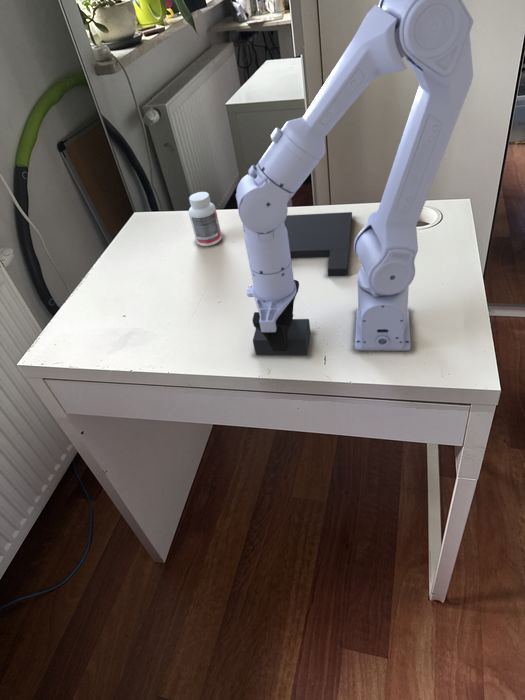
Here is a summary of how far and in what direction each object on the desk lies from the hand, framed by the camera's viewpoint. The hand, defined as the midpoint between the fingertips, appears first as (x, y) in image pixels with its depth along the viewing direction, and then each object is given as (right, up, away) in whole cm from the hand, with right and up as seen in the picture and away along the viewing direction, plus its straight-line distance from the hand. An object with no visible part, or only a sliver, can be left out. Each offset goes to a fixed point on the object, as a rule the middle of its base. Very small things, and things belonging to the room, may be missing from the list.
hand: (282, 337), depth 80 cm
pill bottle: (-14, +21, +28) cm, 38 cm away
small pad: (0, -1, +1) cm, 1 cm away
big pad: (+6, +18, +21) cm, 28 cm away
